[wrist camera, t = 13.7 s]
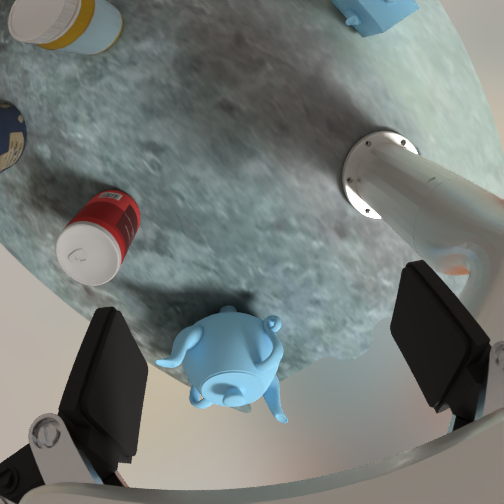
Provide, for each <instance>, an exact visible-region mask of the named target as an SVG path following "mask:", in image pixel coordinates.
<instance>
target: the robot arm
mask: <svg viewBox="0 0 504 504" xmlns="http://www.w3.org/2000/svg"><path fill="white" fill-rule="evenodd" d="M366 141H367V144H366ZM348 178H349V179H348ZM347 179H348V180H347ZM342 184H343V190H344V192H345V195H346V197H347V199H348V201H349V202H350V204H351V205H352V206H353V207H354V208H355V209H356V210H357V211H358V212H360V213H361V214H363V215H365V216H368V217H371V218H382V219H383V220H384V221H385V222H386V223H387V224H388V225H389V226H390V227H391V228H392V229H393V230H394V231H395V232H396V233H398V234H399V235H400V236H401V237H402V238H403V239H404V240H405V241H406V242H407V243H408V244H409V245H410V247H411V248H412V249H413V250H414V251H415V252H416V253H417V254H418V255H419V256H420V257H421V258H422V259H423V260H419V261H414V262H409V263H407V265H406V267H405V268H403V270H402V273H401V279H400V284H399V289H398V294H397V298H396V303H395V308H394V312H393V316H392V321H391V325H390V330H391V334H392V336H393V338H394V340H395V341H396V343H397V345H398V347H399V349H400V351H401V352H402V354H403V356H404V358H405V360H406V362H407V364H408V365H409V367H410V369H411V371H412V373H413V375H414V377H415V379H416V381H417V382H418V385H419V387H420V388H421V390H422V392H423V394H424V396H425V398H426V400H427V403H428V404H429V406H430V407H434V409H435V411H436V413H439V412H442V411H444V410H446V409H449V410H450V411H452V417H451V421H450V425H449V428H448V432H447V434H446V435H444V436H442V437H440V438H437V439H435V440H433V441H430V442H428V443H426V444H424V445H421V446H419V447H416V448H413V449H411V450H408V451H406V452H403V453H401V454H397V455H395V456H392V457H389V458H386V459H383V460H380V461H377V462H374V463H370V464H367V465H364V466H360V467H357V468H353V469H349V470H346V471H342V472H338V473H334V474H330V475H325V476H321V477H316V478H311V479H306V480H301V481H295V482H289V483H283V484H276V485H269V486H260V487H250V488H239V489H226V490H159V489H142V488H130V487H129V486H128V485H127V483H126V482H125V481H124V479H123V478H122V476H121V475H120V474H119V472H118V471H117V467H118V462H120V463H130V464H131V460H132V456H135V455H136V451H137V444H138V436H139V428H140V421H141V414H142V407H143V401H144V395H145V388H146V382H147V376H148V366H147V362H146V361H145V359H144V357H143V355H142V353H141V351H140V349H139V347H138V345H137V344H136V342H135V340H134V338H133V336H132V334H131V332H130V330H129V328H128V326H127V324H126V321H125V319H124V317H123V315H122V313H121V312H120V311H117V310H116V309H115V308H114V307H103V308H98V309H96V311H95V313H94V315H93V318H92V320H91V322H90V325H89V327H88V330H87V332H86V335H85V337H84V339H83V342H82V344H81V347H80V349H79V352H78V354H77V357H76V360H75V362H74V365H73V368H72V371H71V373H70V376H69V379H68V381H67V384H66V387H65V390H64V393H63V396H62V399H61V402H60V405H59V412H58V415H56V414H52V413H48V414H43V415H41V416H39V417H38V418H37V419H35V420H34V422H33V423H32V425H31V427H30V429H29V434H28V439H29V444H27V445H26V446H24V447H23V448H21V449H20V450H19V451H17V452H16V453H14V454H13V455H12V456H10V457H9V458H7V459H6V460H4V461H3V462H1V463H0V504H504V199H502V198H500V197H498V196H496V195H495V194H493V193H491V192H489V191H487V190H485V189H483V188H482V187H480V186H478V185H476V184H475V183H473V182H471V181H469V180H467V179H465V178H463V177H462V176H460V175H458V174H456V173H454V172H452V171H450V170H448V169H446V168H444V167H443V166H441V165H439V164H437V163H435V162H432V161H430V160H428V159H426V158H424V157H422V156H420V155H418V152H417V150H416V149H415V147H414V146H413V144H412V143H411V142H410V141H409V140H408V139H407V138H405V137H403V136H402V135H400V134H397V133H394V132H390V131H377V132H373V133H370V134H368V135H366V136H364V137H363V138H362V139H360V140H359V141H358V142H357V143H356V144H355V145H354V146H353V147H352V149H351V150H350V152H349V154H348V155H347V158H346V160H345V163H344V166H343V171H342ZM365 209H366V210H365ZM432 268H433V269H434V270H436V271H438V272H440V273H443V274H446V275H455V276H456V275H468V274H469V278H468V281H467V283H466V285H465V287H464V289H463V291H462V293H461V296H460V299H458V298H457V297H456V296H455V294H454V293H453V292H452V291H451V290H450V289H449V287H448V286H447V285H446V284H445V283H444V282H443V281H442V279H441V278H440V277H439V276H438V275H437V274H436V273H435V272H434V271H433V269H432Z"/></svg>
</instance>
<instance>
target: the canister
mask: <svg viewBox="0 0 504 504" xmlns="http://www.w3.org/2000/svg"><path fill="white" fill-rule="evenodd" d="M26 136H27V134H26V125H25V122H24V119H23V117H22V115H21V113H20V112H19V111H18V110H17V109H16V108H15V107H13V106H11V105H7V104H1V105H0V173H1V172H3V171H4V170H6V169H8V168H10V167H11V166H13V165H14V164H15V163H16V162H17V161H18V160H19V158H20V157H21V155H22V153H23V151H24V148H25V145H26Z"/></svg>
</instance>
